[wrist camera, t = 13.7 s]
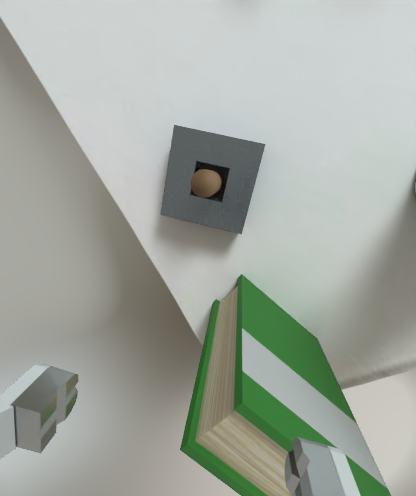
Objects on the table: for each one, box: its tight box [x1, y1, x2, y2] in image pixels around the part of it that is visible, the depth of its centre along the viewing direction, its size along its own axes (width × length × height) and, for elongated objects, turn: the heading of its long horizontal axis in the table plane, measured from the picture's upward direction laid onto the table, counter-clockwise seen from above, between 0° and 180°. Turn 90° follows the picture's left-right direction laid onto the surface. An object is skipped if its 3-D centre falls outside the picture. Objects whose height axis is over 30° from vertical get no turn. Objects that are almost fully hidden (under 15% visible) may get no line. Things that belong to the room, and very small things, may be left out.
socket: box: [161, 125, 265, 234], centre depth 35 cm, size 12×12×4 cm
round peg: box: [191, 169, 224, 198], centre depth 32 cm, size 3×3×9 cm
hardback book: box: [180, 274, 391, 496], centre depth 31 cm, size 18×7×24 cm, turn 50°
